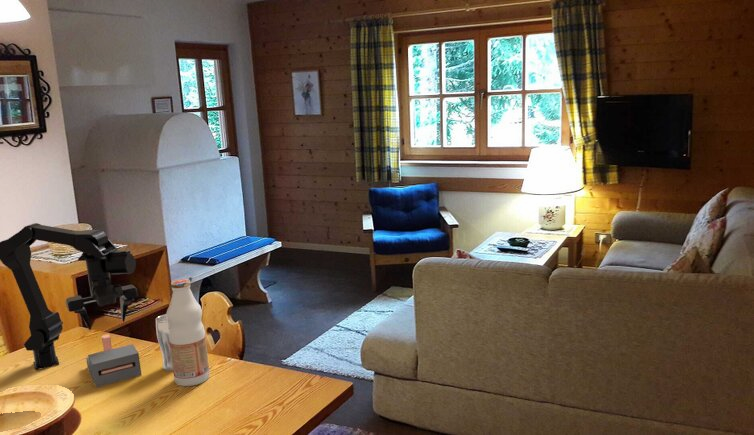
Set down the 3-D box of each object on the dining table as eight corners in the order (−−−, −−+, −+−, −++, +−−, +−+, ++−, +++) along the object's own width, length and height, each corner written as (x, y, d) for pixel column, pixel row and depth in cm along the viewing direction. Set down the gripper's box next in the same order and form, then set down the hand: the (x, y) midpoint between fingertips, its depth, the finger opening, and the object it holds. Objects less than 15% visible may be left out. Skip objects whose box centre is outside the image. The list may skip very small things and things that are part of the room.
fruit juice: (181, 390, 164) (168, 289, 158) (169, 378, 171) (157, 281, 166) (215, 379, 169) (204, 281, 164) (202, 368, 177) (191, 274, 171)
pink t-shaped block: (93, 354, 183) (90, 338, 182) (121, 347, 187) (119, 331, 186) (101, 374, 169) (99, 356, 168) (132, 366, 173) (130, 348, 172)
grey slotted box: (87, 367, 182) (84, 346, 181) (130, 356, 188) (127, 335, 187) (95, 387, 169) (92, 364, 167) (141, 375, 175) (138, 352, 173)
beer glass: (190, 361, 182) (184, 312, 179) (180, 371, 176) (174, 321, 173) (167, 361, 183) (161, 313, 180) (157, 371, 176) (150, 322, 173)
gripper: (67, 287, 167) (76, 342, 170) (139, 273, 177) (146, 324, 180) (61, 279, 176) (70, 330, 179) (130, 265, 186) (137, 315, 189)
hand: (106, 325), depth 181 cm, fingers open, 9 cm apart
